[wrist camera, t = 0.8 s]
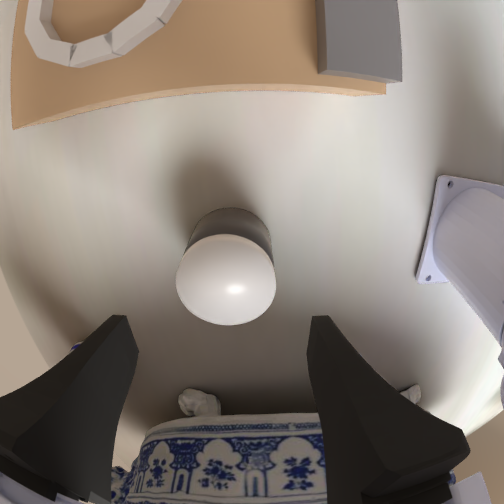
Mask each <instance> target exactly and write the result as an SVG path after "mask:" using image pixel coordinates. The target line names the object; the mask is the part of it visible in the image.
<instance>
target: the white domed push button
mask: <svg viewBox="0 0 504 504" xmlns="http://www.w3.org/2000/svg"><path fill="white" fill-rule="evenodd" d="M176 289H177V293H178V295H179V298H180V299H181V301H182V303H183V304H184V305H185V307H186V308H187V309H188V310H189V311H190V312H192V313H193V314H194V315H196V316H197V317H199V318H201V319H203V320H205V321H208V322H210V323H214V324H219V325H238V324H243V323H246V322H249V321H252V320H254V319H255V318H257V317H259V316H260V315H261V314H263V313H264V312H265V311H266V310H267V309H268V307H269V306H270V305H271V303H272V301H273V299H274V296H275V292H276V279H275V271H274V263H273V255H272V248H271V240H270V235H269V232H268V230H267V228H266V226H265V225H264V224H263V222H262V221H261V220H260V219H259V218H258V217H256V216H255V215H254V214H252V213H250V212H248V211H246V210H243V209H239V208H222V209H218V210H215V211H212V212H211V213H209V214H207V215H206V216H204V217H203V218H202V219H201V220H200V221H199V223H198V224H197V226H196V227H195V229H194V232H193V234H192V236H191V239H190V241H189V243H188V246H187V248H186V250H185V253H184V255H183V257H182V260H181V262H180V265H179V267H178V270H177V273H176Z"/></svg>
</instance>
